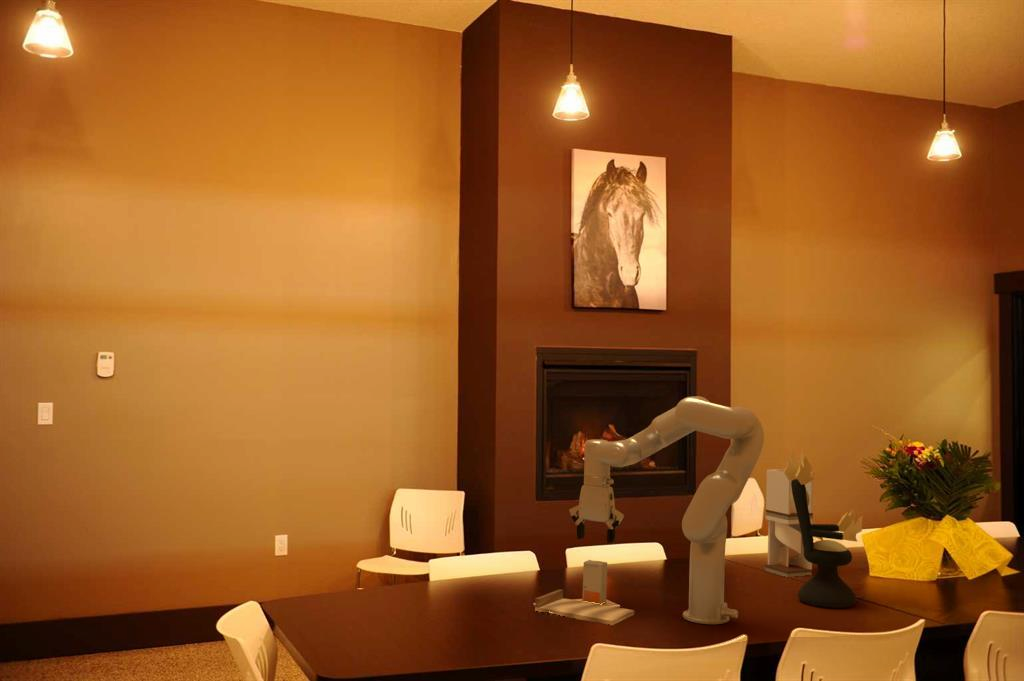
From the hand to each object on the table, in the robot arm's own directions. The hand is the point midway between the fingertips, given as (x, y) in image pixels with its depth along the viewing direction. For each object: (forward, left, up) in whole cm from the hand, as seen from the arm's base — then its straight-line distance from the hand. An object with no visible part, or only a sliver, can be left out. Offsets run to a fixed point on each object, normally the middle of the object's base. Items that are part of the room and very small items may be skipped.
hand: (595, 540), depth 283 cm
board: (-3, +12, -18) cm, 22 cm away
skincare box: (0, 0, -18) cm, 18 cm away
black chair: (-54, -43, -18) cm, 72 cm away
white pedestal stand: (-34, -80, -18) cm, 89 cm away
